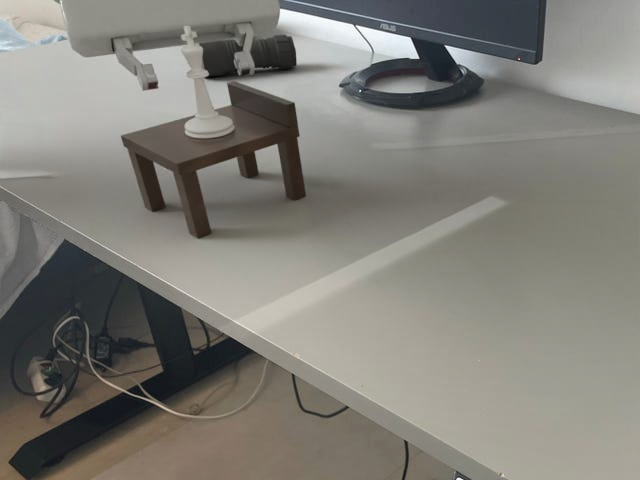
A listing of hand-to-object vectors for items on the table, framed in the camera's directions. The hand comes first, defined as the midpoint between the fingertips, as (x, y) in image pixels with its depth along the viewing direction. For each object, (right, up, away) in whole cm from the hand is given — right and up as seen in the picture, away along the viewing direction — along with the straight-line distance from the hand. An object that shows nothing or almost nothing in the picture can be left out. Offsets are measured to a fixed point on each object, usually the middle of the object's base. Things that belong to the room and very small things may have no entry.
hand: (200, 79), depth 71 cm
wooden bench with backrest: (0, -10, +9) cm, 13 cm away
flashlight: (-11, +20, +48) cm, 52 cm away
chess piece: (0, -4, +4) cm, 5 cm away
